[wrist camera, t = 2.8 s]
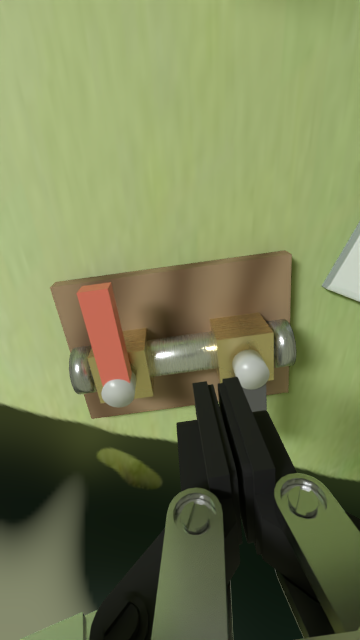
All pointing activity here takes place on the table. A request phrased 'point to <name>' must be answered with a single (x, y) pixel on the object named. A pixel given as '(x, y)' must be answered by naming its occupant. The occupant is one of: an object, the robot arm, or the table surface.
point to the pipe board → (183, 314)
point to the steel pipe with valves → (191, 352)
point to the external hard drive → (347, 269)
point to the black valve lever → (252, 377)
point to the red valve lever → (107, 343)
